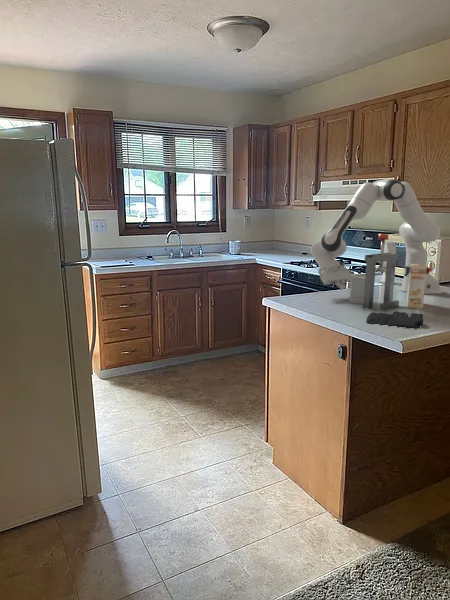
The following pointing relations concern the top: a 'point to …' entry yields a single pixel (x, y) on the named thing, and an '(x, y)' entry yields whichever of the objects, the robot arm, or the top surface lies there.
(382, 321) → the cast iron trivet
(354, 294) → the supplement box
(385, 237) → the ram
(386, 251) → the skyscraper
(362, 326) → the top surface
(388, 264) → the press frame
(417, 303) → the coffeecake box
